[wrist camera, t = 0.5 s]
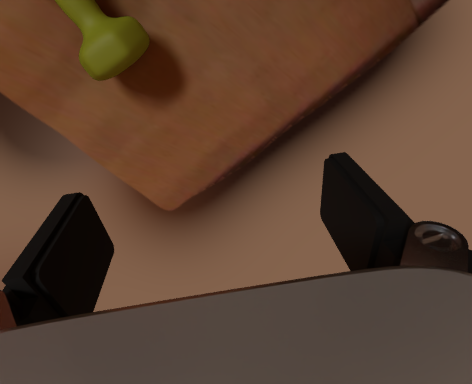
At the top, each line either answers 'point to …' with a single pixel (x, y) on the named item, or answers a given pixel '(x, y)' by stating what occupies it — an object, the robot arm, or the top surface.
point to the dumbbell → (105, 39)
